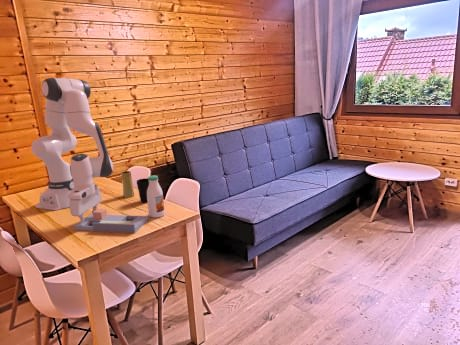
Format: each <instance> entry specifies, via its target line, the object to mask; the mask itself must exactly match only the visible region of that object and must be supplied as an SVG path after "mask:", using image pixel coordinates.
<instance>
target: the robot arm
mask: <svg viewBox="0 0 460 345" xmlns="http://www.w3.org/2000/svg"><path fill="white" fill-rule="evenodd" d="M41 92H42V95H43V97H44V98H45V99H46V100H45V112H44V113H45V115H44V116H45V117H44V123H45V125H46V126H47V127H48V128H50V129H51V134H48V135H45V136H41V137H39V138H36V139H34V140H33V142H32V143H31V146H30V148H31V151H32V154H33V155H34V156H36V157H37V158H38V159H40V160H41V161H42V162H43V163H44V165H45V167H46V169H47V173H48V177H49V178H48V179H49V181H47V182H46V183H45V184H46V186H48V187H47V188H46V189H45V190H44V191H43V192H42V193H41V194H40V195H39V198H38V199H39V201H38V203H37V204H36V205H35V209H41V210H51V211H57V210H61V209H67V208H69V213H70V214H71V216H73V217H78V218H79V219H80V221H81V222H85V221H86V217H85V215H84V214H85V213H86V212H88V211H90V210H91V209H92V211H91V214H93V212H94V211H95V210H97V209H98V206H99V204H100V203H102V199H103V196H102V194H101V190H100V188H99V186H98V185H97V184H95V181H94V179H95V178H108V177H110V176H111V175H112V174H113V173H114V164H113V161H112V159H111V157H110V153H109V150H108V148H107V145H106V141H105V138H104V135H103V132H102V129H101V127H100V125H99V123H97V122H95V121H94V119H93V117H92V114H91V109H90V107H91V106H90V104H89V100H88V99H89V98H90V96H91V94H92V92H91V86H90V84H89V83H88V81H86V80H83V79H75V78H71V77H66V78H65V77H64V78H63V77H61V78H60V77H56V78H55V77H47V78H45V79H44V80H43V82H42V84H41ZM71 130H72V131H74V132H77V133H78V134H79V133H80V134H83V135H87V136H89V137H91V138H93V139H94V141H95V143H96V148H97V150H98V153H99V154H98V155H99V156H96V157H90V156H89V155H88V154H86V153H78V154H75V155H73V156H71V157H70V163H69V162H67V161H66V160H64V159H63V158H62V154H66V153H69V152H70V151H73V150H74V149H75V148H76V147H77V145H78V142H77V137H76V136H75V134H73V133H72V131H71ZM93 178H94V179H93Z"/></svg>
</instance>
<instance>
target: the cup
mask: <svg viewBox="0 0 460 345" xmlns="http://www.w3.org/2000/svg"><path fill="white" fill-rule="evenodd" d="M136 185H137V191H138V195H139V200H140V203H142V204H148V202H147V189H148V186H149V180H148V177H147V178H145V177H144V178H140V179H137V180H136Z"/></svg>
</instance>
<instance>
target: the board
mask: <svg viewBox="0 0 460 345" xmlns="http://www.w3.org/2000/svg"><path fill="white" fill-rule="evenodd" d="M85 218H86V221H85V222H81V220H80V221H78V222H77V223H75V224H74V225H73V229H74V231H91V232H97V233H98V232H99V233H100V232H101V233H121V234H122V233H123V234H136V233H137V232H138V231H139V230H140V229H141V228H142V226H144V225H145V224H146V223H147V222H148V221H149V215H129V214H128V215H127V214H125V215H124V214H123V215H122V214H107V216H106V217H105V218H103V219H93V214H92V213H91V214H89V215H87V216H86V217H85Z"/></svg>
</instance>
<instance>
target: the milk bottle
mask: <svg viewBox="0 0 460 345" xmlns="http://www.w3.org/2000/svg"><path fill="white" fill-rule="evenodd" d="M147 179H148V180H149V186H148V189H147V202H148V203H147V210H148V217H150V218H153V219H154V218H155V219H156V218H161V217H163V216H165V215H166V214H165V202H164V194H163V189H162V187H161V185H160V183H159V177H158V175H157V174H155V175H149V176H147Z"/></svg>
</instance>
